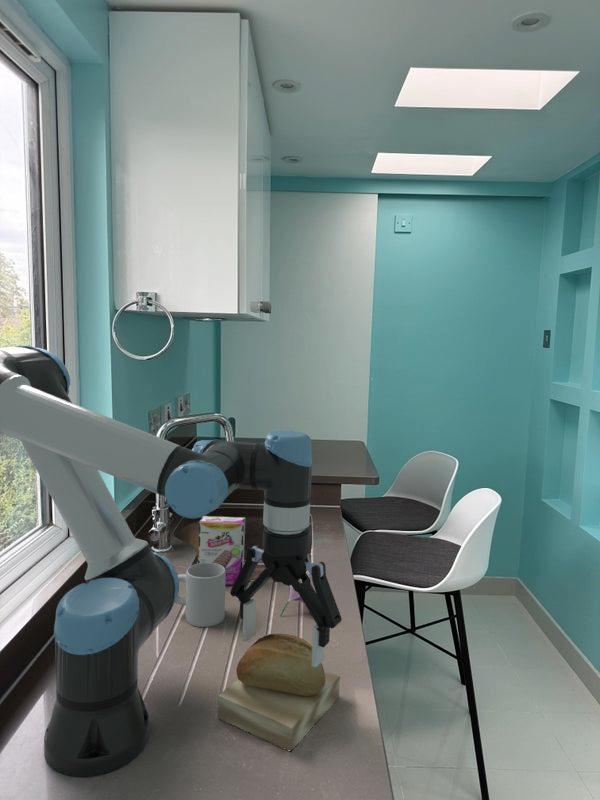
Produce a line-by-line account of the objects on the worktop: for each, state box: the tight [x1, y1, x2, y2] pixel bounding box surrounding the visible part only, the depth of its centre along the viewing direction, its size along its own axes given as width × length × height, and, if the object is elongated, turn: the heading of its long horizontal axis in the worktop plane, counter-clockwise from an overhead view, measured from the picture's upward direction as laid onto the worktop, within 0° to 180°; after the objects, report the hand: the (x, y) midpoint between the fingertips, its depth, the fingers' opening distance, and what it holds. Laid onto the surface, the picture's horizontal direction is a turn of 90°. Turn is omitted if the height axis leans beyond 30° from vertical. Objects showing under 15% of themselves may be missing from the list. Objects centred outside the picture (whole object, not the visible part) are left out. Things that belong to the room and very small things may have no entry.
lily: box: [280, 585, 305, 617], centre depth 131 cm, size 12×12×10 cm
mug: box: [175, 563, 226, 628], centre depth 127 cm, size 12×8×11 cm
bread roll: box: [236, 633, 325, 696], centre depth 97 cm, size 10×15×8 cm, turn 83°
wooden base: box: [217, 669, 341, 751], centre depth 98 cm, size 16×14×4 cm
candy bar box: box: [197, 515, 246, 587], centre depth 145 cm, size 11×5×16 cm, turn 91°
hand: (282, 650), depth 97 cm, fingers open, 13 cm apart
